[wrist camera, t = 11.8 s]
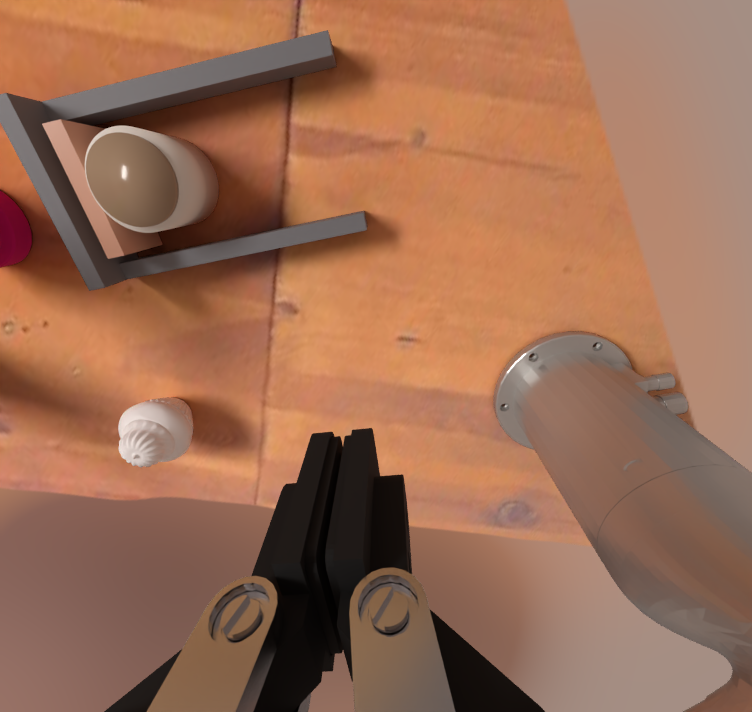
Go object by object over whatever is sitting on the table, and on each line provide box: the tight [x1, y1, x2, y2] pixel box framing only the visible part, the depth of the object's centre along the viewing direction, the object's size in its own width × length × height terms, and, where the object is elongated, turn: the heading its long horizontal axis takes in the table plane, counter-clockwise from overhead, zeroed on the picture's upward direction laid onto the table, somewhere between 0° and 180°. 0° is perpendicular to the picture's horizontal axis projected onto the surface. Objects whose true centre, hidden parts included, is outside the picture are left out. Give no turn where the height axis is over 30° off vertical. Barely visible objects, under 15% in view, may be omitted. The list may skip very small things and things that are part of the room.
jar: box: [85, 126, 219, 233], centre depth 25 cm, size 6×6×6 cm
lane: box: [0, 30, 367, 291], centre depth 25 cm, size 20×12×5 cm, turn 101°
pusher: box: [42, 119, 163, 259], centre depth 26 cm, size 1×8×5 cm, turn 11°
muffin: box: [118, 397, 193, 467], centre depth 33 cm, size 6×6×7 cm
